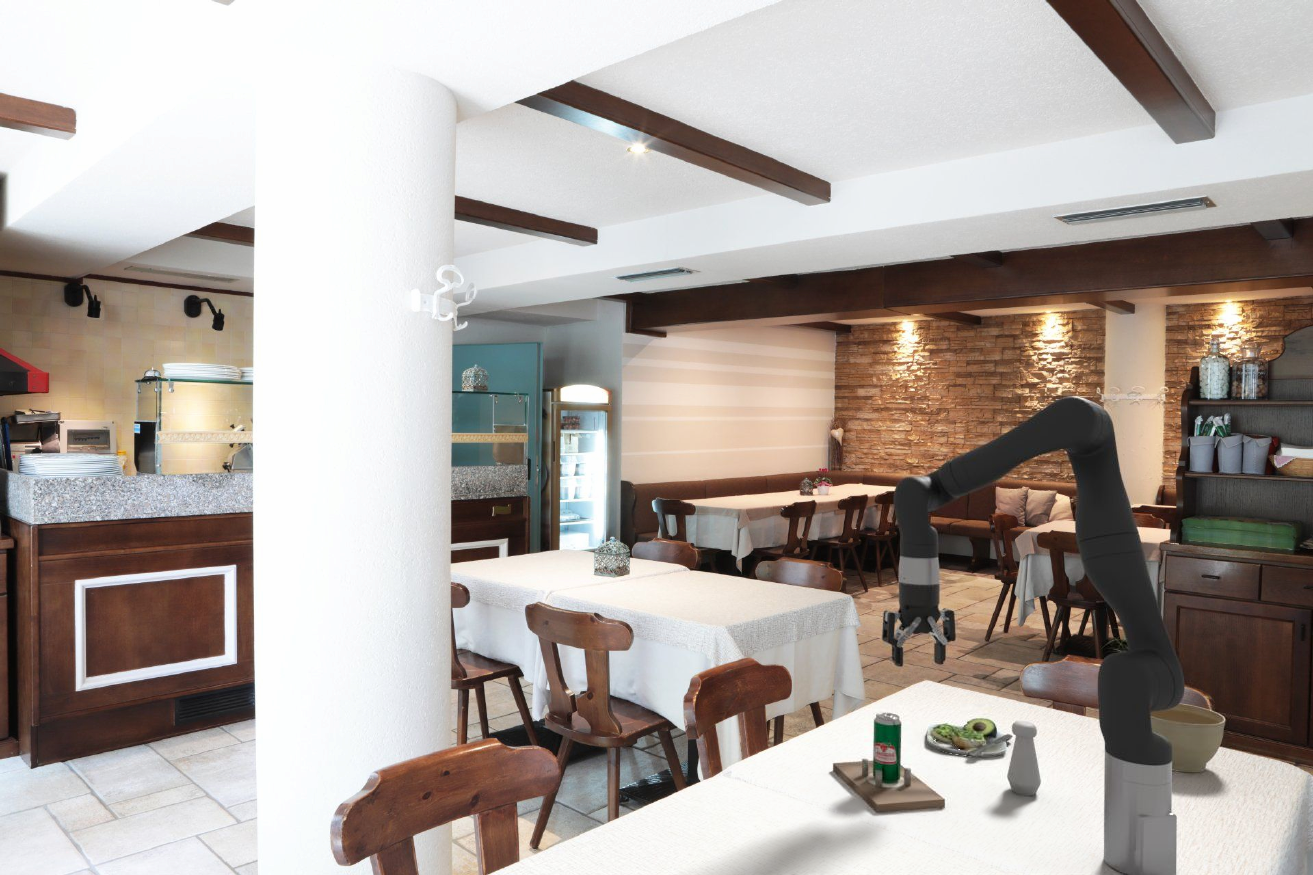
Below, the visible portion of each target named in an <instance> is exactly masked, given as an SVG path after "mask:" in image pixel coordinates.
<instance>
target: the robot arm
mask: <svg viewBox="0 0 1313 875" xmlns="http://www.w3.org/2000/svg"><path fill="white" fill-rule="evenodd" d="M1063 450H1064V451H1065V452H1066V455H1067V457H1068V459H1069V463H1070V466H1071V468H1072V473H1073V476H1074V480H1075V484H1076V506H1075V516H1074V517H1075V518H1074V528H1075V530H1074V533H1075V538H1076V543H1077V547H1078V551H1079V555H1080V560H1081V563H1082V567H1083V569H1084V572H1085V574H1086V577H1087V578H1088V580H1089V581H1090V582H1091V584H1092V586H1093V587H1094V588H1095V589H1096V591H1097V593H1099V594H1100V596H1101V597H1102V598H1103V599H1104V601H1105V602H1106V603H1107V605H1108V606H1109V607H1110V608H1111V609H1112V611H1113V612H1114V614H1115V615H1116V617H1117V619H1118V621H1119V623H1120V625H1121V628H1122V630H1123V633H1124V636H1125V642H1126V644H1127V648H1128V651H1120V652H1119V651H1118V652H1114V653H1111V654H1108V655H1106V656H1105V657H1104V659H1103V660H1102V661H1101V663H1100V666H1099V669H1098V673H1097V700H1098V702H1097V704H1098V723H1099V729H1100V731H1101V732H1100V733H1101V735H1102V737H1103V741H1104V770H1103V771H1104V774H1103V775H1104V778H1103V779H1104V787H1103V788H1104V789H1103V790H1104V791H1103V794H1104V796H1103V797H1104V798H1103V800H1104V802H1103V860H1104V862H1105V863H1106V864H1107V865H1108V866H1109V867H1111V868H1112V869H1113V870H1116V871H1118V872H1120V873H1122V874H1125V875H1177V849H1178V848H1177V844H1178V843H1177V836H1178V834H1177V833H1178V832H1177V830H1178V829H1177V828H1178V824H1177V823H1178V822H1177V821H1178V820H1177V819H1178V818H1177V815H1176V814H1175V813H1173V812H1172V805H1173V802H1172V801H1173V800H1172V798H1173V796H1172V795H1173V793H1172V790H1173V788H1172V787H1173V786H1172V784H1173V783H1172V782H1173V770H1172V745H1171V742H1170V741H1169V740H1168V739H1167V738H1166V737H1164V736H1162V735H1160V734H1157V733H1155V732H1152V726H1151V712H1152V711H1160V710H1167V709H1171V708H1174V707H1176V706H1177V705H1178V704H1179V703H1181V702H1182V701H1183V698H1184V694H1185V678H1184V673H1183V670H1182V666H1181V664H1180V661H1179V658H1178V656H1177V653H1176V650H1175V647H1174V645H1173V642H1172V641H1171V640H1172V639H1171V637H1170V635H1169V632H1168V630H1167V626H1166V625H1165V622H1164V619H1163V616H1162V613H1161V609H1160V606H1159V604H1158V599H1157V596H1156V593H1155V590H1154V587H1153V583H1152V579H1151V576H1150V573H1149V569H1148V564H1147V560H1146V556H1145V551H1144V548H1143V543H1142V541H1141V537H1140V534H1139V530H1138V526H1137V523H1136V521H1135V516H1134V512H1133V509H1132V506H1131V502H1130V498H1129V496H1128V493H1127V489H1126V487H1125V484H1124V480H1123V478H1122V476H1123V475H1122V474H1121V467H1120V462H1119V455H1118V449H1117V440H1116V433H1115V427H1114V424H1113V419H1112V417H1111V416H1110V414H1109V413H1108V411H1107V410H1106V409H1105V408H1104V407H1103V406H1101V404H1100V405H1099V404H1098V403H1097V402H1096V403H1095V402H1094V401H1092V400H1088V399H1087V398H1085V397H1079V396H1071V395H1070V396H1065V397H1062V398H1059V399H1057V400H1055V401H1053V402H1051V403H1050V404H1049V405H1047V406H1046V407H1044V408H1043V409H1041V410H1039V411H1038V412H1036V414H1035V413H1034V415H1033V416H1031V417H1029V418H1028V419H1026V420H1025V421H1024V422H1022V423H1020V424H1019V425H1017V426H1015V427H1013V428H1012V429H1010V430H1008V431H1007V432H1005V433H1003V434H1001V435H999V436H998V437H996V438H994V439H991V441H988V442H985V443H984V444H981V446H978V447H976V448H973V449H972V450H970V451H969V450H968V451H967V452H965V453H962V454H960V455H958V456H955V457H954V458H951V459H950V460H948V461H946V462H944V463H943V464H942V465H941V466H940V468H939V469H936V470H934V471H932V472H930V473H928V474H924V475H918V476H915V475H914V476H906V477H904V478H902V479H901V480H899V481H898V482H897V485H896V486H895V489H894V494H893V509H894V513H895V517H896V522H897V526H898V530H899V533H900V534H899V535H900V539H899V540H900V541H899V547H900V548H899V551H900V552H899V555H900V556H899V564H898V605H899V609H898V610H897V611H889V610H887V609H886V610H884V611H883V615H882V616H883V617H882V633H881V640H882V641H883V642H884V643H887V644H889V645H891V646H890V647H891V661H892V663H894V665H895V666H896V667H899V668H900V667H901V668H902V667H903V666H904V647H903V646H904V643H905V642H906V641H907V639H909V638H911V636H912V634H913V635H919V634H926V635H927V634H930V636H931V637H932V638H933V639H934V641H935V642H934V643H933V644H934V646H933V647H934V648H933V650H934V652H933V659H934V660H933V661H934V663H935V664H936V665H941V666H942V665H944V662H946V659H947V658H946V657H947V656H946V655H947V654H946V653H947V648H946V647H947V644H949V643H950V642H956V638H957V636H956V620H955V617H956V615H955V611H954V610H952V609H950V608H946V607H945V608H942V609H940V608H939V605H940V592H941V591H940V584H941V583H940V572H941V571H940V562H939V535H938V531H937V529H936V528H935V527H933V526H931V522H930V517H929V512H933V511H936V510H938V509H940V508H941V509H942V508H943V507H945V506H947V505H949V504H950V503H952V502H954V501H955V500H958V499H959V498H960V497H963V496H967V495H968V494H971V493H974V492H975V491H978V490H981V489H982V488H984V487H988V486H990V485H991V484H993V483H996V482H998V481H999V480H1000V479H1002V478H1003V477H1005V476H1006V475H1007V474H1009V473H1011V472H1012V471H1013V470H1014V469H1016V468H1017V467H1018V466H1021V465H1022V464H1023V463H1026V462H1028V461H1029V460H1030V461H1031V460H1032V459H1033V458H1034V459H1035V458H1036V457H1039V456H1044V455H1046V454H1050V453H1053V452H1057V451H1063ZM940 619H941V621H942V630H941V628H940V627H939V625H938V624H937V623H938V622H939V620H940ZM898 620H899V621H900V624H898V626H897V627H895V626H896V624H897V622H898ZM895 628H896V629H895Z"/></svg>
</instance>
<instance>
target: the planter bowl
mask: <svg viewBox="0 0 1313 875" xmlns="http://www.w3.org/2000/svg"><path fill="white" fill-rule="evenodd" d="M1225 725H1226V718H1225V716H1224V715H1222V714H1221V713H1219V712H1216V711H1213V710H1212V709H1211V710H1210V709H1207V708H1204V707H1202V706H1201V707H1200V706H1196V705H1192V704H1185V703H1181V702H1180V703H1179V704H1178V705H1177V706H1176V707H1174V708H1171V709H1167V710H1160V711H1152V712H1151V726H1152V732H1155V733H1157V734H1160V735H1162V736H1164V737H1166V738H1167V739H1168V740H1169V741H1170V742H1171V745H1172V771H1178V772H1183V773H1201V772H1204V771H1205V770H1206V768H1207V764H1209V762H1210V761H1211V760H1212V759H1213V758H1214V757H1215V755H1216V754H1217V752H1218V751H1219V748H1220V747H1221V744H1222V741H1223V738H1224V729H1225Z"/></svg>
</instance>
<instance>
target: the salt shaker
mask: <svg viewBox="0 0 1313 875" xmlns="http://www.w3.org/2000/svg"><path fill="white" fill-rule="evenodd" d="M1011 732H1012V735H1015V738H1014V742H1013V748H1012V752H1011V758H1010V761H1009V767H1008V770H1007V776H1006V777H1007V780H1008V783H1009V785H1010V788H1011V791H1012V792H1013V793H1015V794H1017V795H1020V796H1026V797H1032V796H1034V795H1036V794H1037V792H1038V790H1039V788H1040V786H1041V784H1042V783H1041V782H1042V779H1041V774H1040V769H1039V763H1038V757H1037V751H1036V750H1037V749H1036V746H1035V740H1034V738H1036V737H1037V734H1038V729H1037V726H1036V725H1035V724H1034V723H1033V722H1030V721H1028V720H1027V721H1026V720H1016V721H1014V722H1013V723H1012V725H1011Z"/></svg>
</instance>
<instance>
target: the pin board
mask: <svg viewBox="0 0 1313 875" xmlns="http://www.w3.org/2000/svg"><path fill="white" fill-rule="evenodd" d="M832 771H833V772H834V773H835V774H836V775H837V776H838V777H839V778H840V779H841V780H842V781H843V782H844V781H845V782H844V783H845V784H846V785H848V786H849V788H850V789H852V790H853V791H854V792H855V793H856V794H857V795H858V796H859V797H860V798H861V799H862V800H864V802H865V803H866V804H868V806H870V807H871V808H872V809H873V811H875V812H876V814H877V813H878V814H880V813H882V814H883V813H891V812H892V813H894V812H905V811H906V812H907V811H919V810H932V809H945V808H946V807H945V806H946V800H945V798H944V797H942V796H941V795H940V794H939V793H937V791H935V790H934V789H933V788H932V787H930V786H928V785H927V784H926V783H925V782H923V781H922V780H921V779H920V778H918V777H917V776H916V775H915V774H913V773H912V769H911V768H909V767H904V766H903V765H902V764H901V773H900V780H899V781H898V782H896V783H883V782H882V771H881V770H876V771H875V778H874V776H873V759H872V760H869V759H868V758H862V759H861V761H844V762H842V761H841V762H833V763H832ZM943 807H944V808H943Z"/></svg>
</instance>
